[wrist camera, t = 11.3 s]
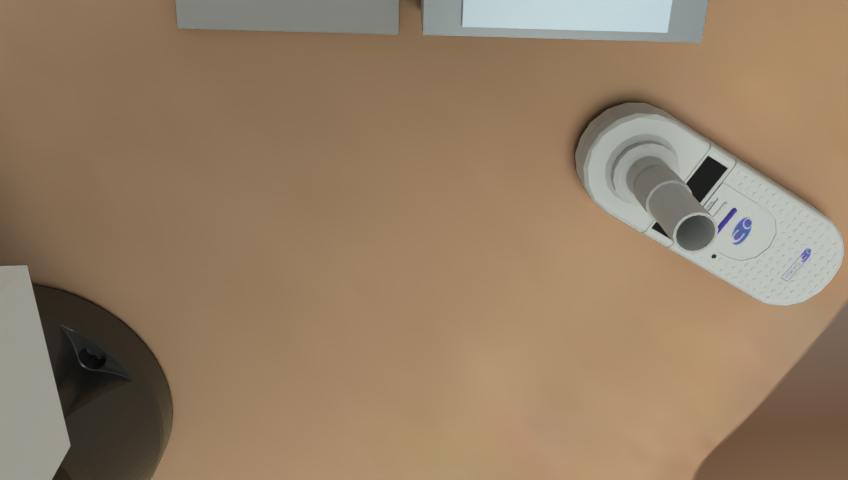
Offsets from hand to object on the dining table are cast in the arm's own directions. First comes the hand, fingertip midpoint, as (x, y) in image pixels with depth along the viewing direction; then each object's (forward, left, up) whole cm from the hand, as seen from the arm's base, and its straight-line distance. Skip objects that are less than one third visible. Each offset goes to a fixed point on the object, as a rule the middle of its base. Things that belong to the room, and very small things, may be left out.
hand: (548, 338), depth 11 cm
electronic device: (+13, -9, -29) cm, 34 cm away
